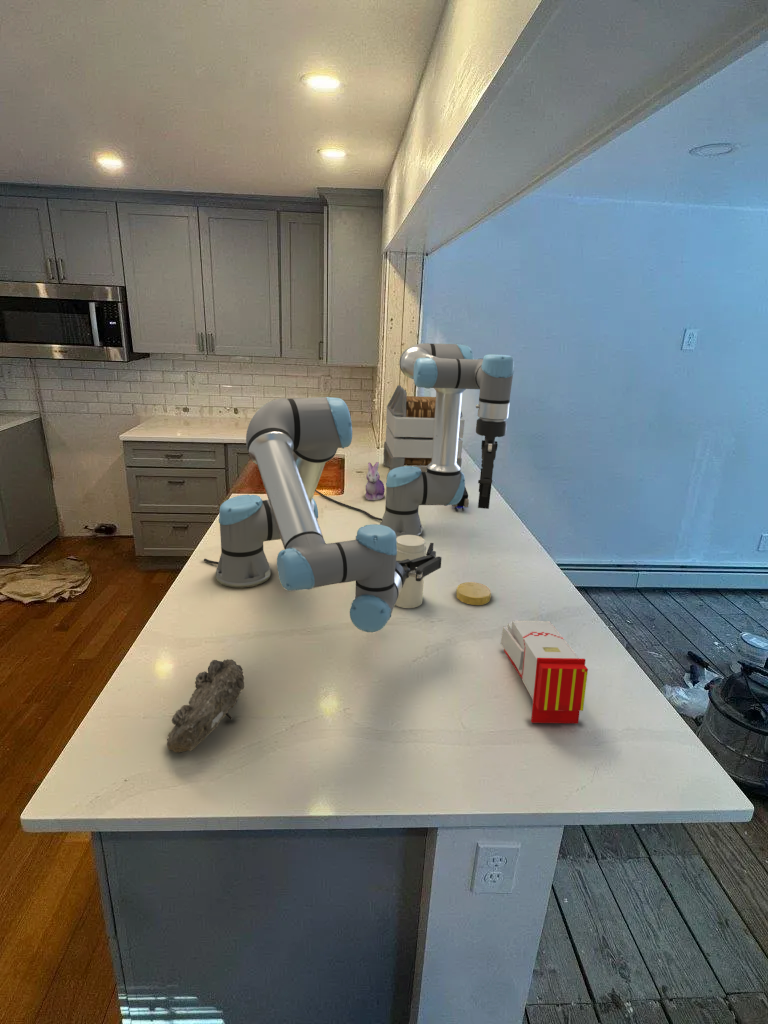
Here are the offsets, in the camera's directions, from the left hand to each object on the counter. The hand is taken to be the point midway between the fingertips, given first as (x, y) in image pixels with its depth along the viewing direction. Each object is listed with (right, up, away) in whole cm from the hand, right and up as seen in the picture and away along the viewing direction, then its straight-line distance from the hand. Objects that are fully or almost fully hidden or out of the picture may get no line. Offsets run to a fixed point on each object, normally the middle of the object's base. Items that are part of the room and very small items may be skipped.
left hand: (404, 544), depth 139 cm
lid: (+20, -14, +19) cm, 31 cm away
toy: (+28, -29, -16) cm, 43 cm away
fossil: (-38, -31, -31) cm, 58 cm away
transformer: (+12, +27, +136) cm, 139 cm away
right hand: (+21, +11, +10) cm, 26 cm away
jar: (+1, -16, +16) cm, 23 cm away
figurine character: (+25, +10, +91) cm, 95 cm away
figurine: (-9, +14, +98) cm, 99 cm away
